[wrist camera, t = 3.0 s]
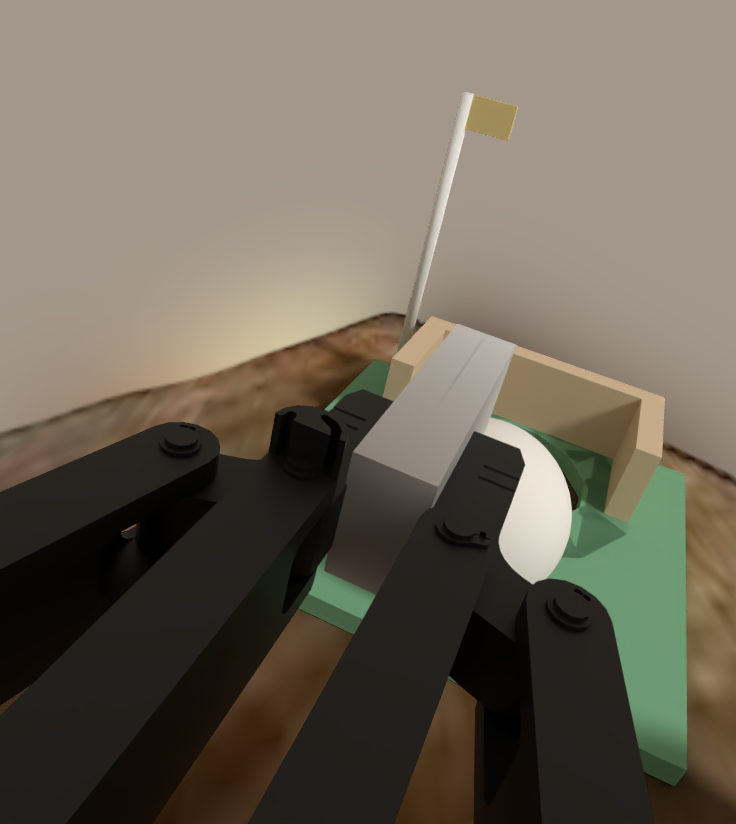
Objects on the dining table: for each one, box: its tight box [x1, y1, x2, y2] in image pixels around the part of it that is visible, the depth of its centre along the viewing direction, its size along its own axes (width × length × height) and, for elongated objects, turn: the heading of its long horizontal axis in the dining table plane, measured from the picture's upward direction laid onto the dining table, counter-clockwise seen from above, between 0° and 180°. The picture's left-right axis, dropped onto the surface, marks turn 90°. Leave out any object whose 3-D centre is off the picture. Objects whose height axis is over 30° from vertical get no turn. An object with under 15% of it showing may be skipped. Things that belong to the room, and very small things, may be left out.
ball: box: [484, 418, 572, 584], centre depth 33 cm, size 9×9×9 cm
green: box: [299, 92, 687, 787], centre depth 37 cm, size 24×26×21 cm
